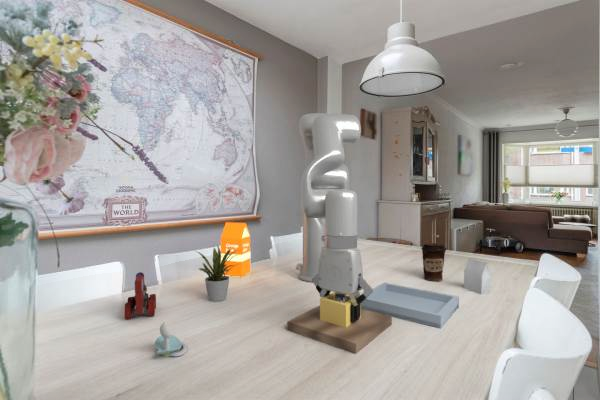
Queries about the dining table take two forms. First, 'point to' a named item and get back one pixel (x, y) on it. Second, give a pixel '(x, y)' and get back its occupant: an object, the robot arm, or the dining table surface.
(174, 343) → the pacifier
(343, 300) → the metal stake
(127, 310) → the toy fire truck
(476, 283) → the grey house shaped block
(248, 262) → the orange juice
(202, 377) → the dining table surface
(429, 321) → the tray
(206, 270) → the house plant
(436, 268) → the coffee cup
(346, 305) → the collar
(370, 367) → the dining table surface
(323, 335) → the board
